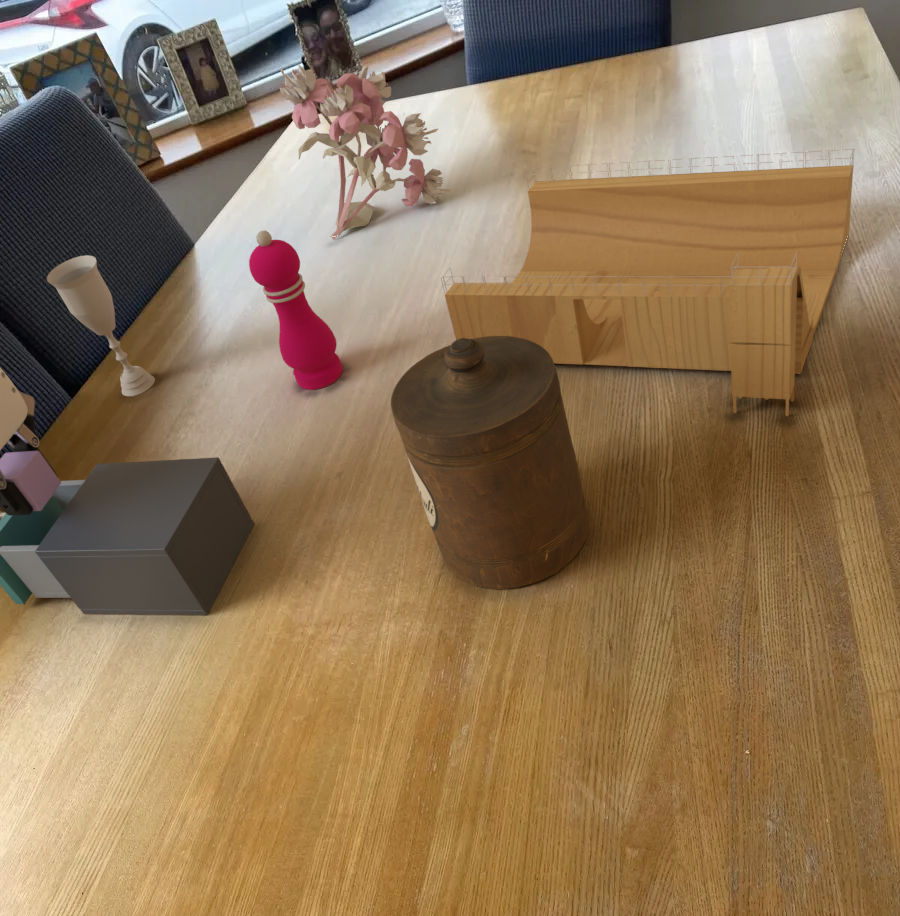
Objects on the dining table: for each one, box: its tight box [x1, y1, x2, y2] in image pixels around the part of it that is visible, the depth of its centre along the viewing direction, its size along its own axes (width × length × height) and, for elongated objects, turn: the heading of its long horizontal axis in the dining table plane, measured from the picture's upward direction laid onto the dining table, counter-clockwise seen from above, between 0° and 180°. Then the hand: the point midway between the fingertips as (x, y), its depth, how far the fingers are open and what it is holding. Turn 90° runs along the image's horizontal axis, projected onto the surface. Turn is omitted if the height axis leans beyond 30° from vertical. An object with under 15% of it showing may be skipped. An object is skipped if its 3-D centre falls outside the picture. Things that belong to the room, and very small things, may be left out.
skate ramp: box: [440, 148, 855, 417], centre depth 108 cm, size 40×35×16 cm
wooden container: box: [390, 336, 590, 590], centre depth 85 cm, size 15×15×22 cm
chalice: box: [46, 255, 156, 397], centre depth 127 cm, size 7×7×18 cm
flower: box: [279, 64, 451, 241], centre depth 145 cm, size 20×22×25 cm
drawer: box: [0, 479, 86, 605], centre depth 104 cm, size 21×12×8 cm, turn 77°
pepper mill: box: [248, 230, 343, 391], centre depth 116 cm, size 7×7×20 cm
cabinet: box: [35, 456, 255, 616], centre depth 100 cm, size 16×14×10 cm
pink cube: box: [0, 451, 62, 511], centre depth 98 cm, size 4×4×4 cm
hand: (32, 495), depth 99 cm, fingers closed on pink cube, 4 cm apart
